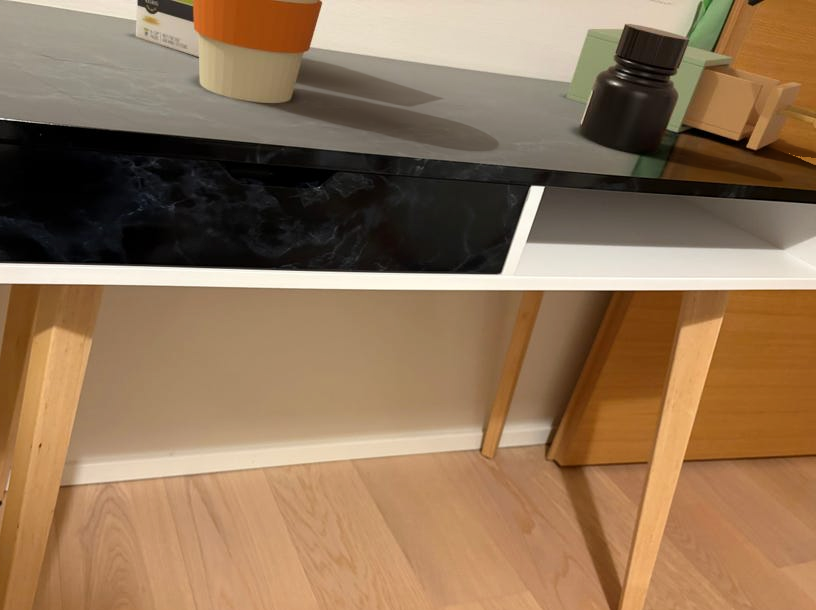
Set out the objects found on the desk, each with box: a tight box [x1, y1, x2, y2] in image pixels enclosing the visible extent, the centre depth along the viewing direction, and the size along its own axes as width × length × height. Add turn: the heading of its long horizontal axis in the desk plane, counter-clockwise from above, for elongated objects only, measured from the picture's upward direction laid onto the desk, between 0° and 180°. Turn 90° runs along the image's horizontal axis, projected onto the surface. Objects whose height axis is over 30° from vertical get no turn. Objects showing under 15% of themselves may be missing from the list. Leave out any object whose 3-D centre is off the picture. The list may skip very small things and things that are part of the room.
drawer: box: [683, 65, 816, 151], centre depth 102 cm, size 20×12×7 cm, turn 52°
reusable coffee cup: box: [193, 0, 323, 104], centre depth 75 cm, size 13×12×15 cm
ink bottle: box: [578, 23, 691, 156], centre depth 87 cm, size 10×9×12 cm
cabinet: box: [566, 28, 734, 134], centre depth 108 cm, size 16×14×9 cm
